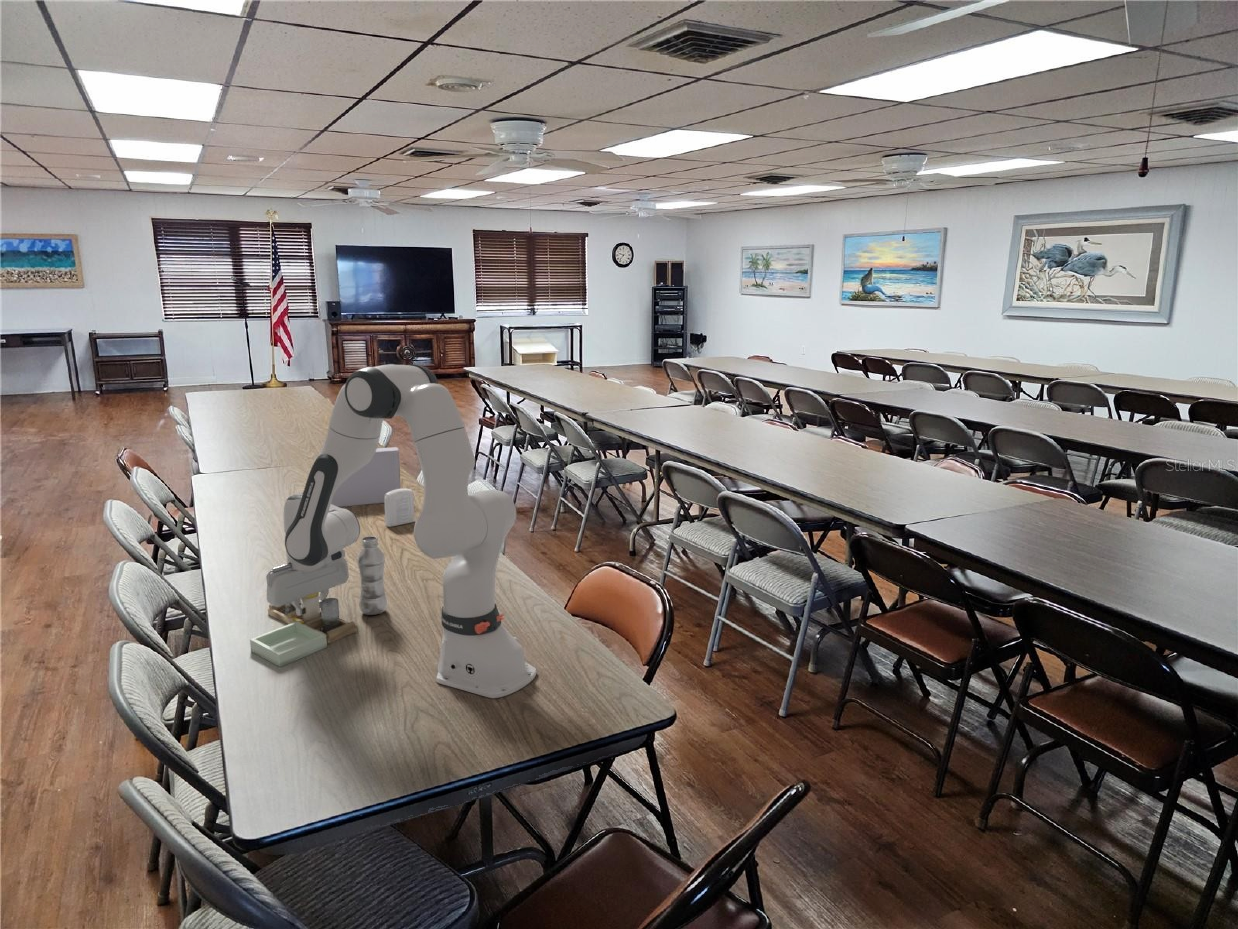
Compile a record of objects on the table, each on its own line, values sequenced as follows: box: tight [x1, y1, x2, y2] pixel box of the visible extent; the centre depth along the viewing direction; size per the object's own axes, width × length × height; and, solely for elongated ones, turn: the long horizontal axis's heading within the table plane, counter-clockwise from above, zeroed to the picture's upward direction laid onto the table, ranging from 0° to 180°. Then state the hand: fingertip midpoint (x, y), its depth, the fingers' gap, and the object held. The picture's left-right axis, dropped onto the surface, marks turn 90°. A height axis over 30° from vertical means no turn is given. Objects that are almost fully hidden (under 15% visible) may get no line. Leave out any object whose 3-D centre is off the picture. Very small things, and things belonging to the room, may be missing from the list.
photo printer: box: [383, 487, 416, 528], centre depth 259 cm, size 10×4×12 cm, turn 134°
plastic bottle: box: [356, 535, 388, 616], centre depth 190 cm, size 6×7×20 cm
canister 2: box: [320, 597, 340, 634], centre depth 181 cm, size 4×4×8 cm
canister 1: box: [283, 602, 301, 616], centre depth 190 cm, size 4×4×8 cm
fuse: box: [301, 592, 321, 625], centre depth 185 cm, size 4×4×8 cm
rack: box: [267, 603, 358, 644], centre depth 186 cm, size 25×8×2 cm, turn 55°
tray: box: [249, 622, 328, 668], centre depth 173 cm, size 12×12×3 cm
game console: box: [331, 446, 402, 508], centre depth 281 cm, size 6×27×20 cm, turn 115°
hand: (311, 610), depth 185 cm, fingers closed on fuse, 4 cm apart
